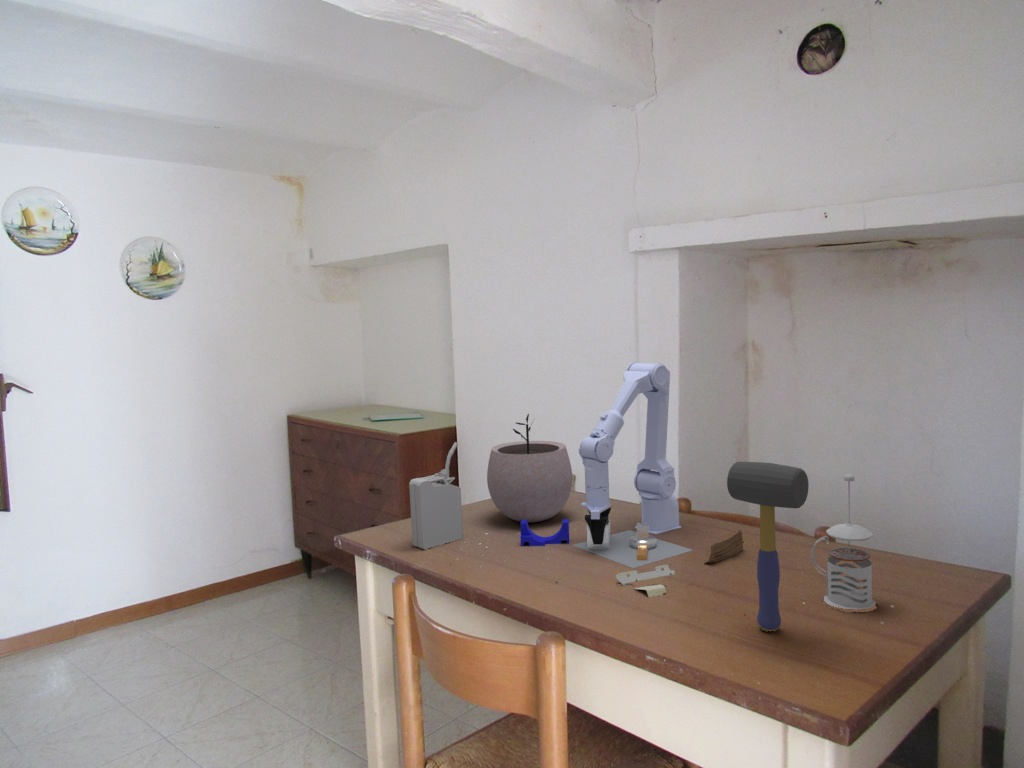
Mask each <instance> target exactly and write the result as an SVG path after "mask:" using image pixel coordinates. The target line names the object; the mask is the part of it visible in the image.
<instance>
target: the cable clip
mask: <svg viewBox="0 0 1024 768" xmlns="http://www.w3.org/2000/svg"><path fill="white" fill-rule="evenodd" d="M528 523H529V522H527V520H521V522H520V524H519V525H520V547H524V546H525V543H528V546H529V547H546V545H558V544H559V545H562V543H563V540H565V541H566V544H567V545H568V544H570V521H569V519H567V518H563V519H562V523H561V526H560V528H559V530H558V531H557V532H556V533H555V534H553V535H551V536H540V535H538V534H536V533H534V531H532V529H531V528H530V526H529V524H528Z"/></svg>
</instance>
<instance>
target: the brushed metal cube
mask: <svg viewBox="0 0 1024 768" xmlns="http://www.w3.org/2000/svg"><path fill="white" fill-rule="evenodd" d="M610 535H611V519H610V518H608V520H607V522H606V525H605V529H604V538H603V543H602V545H601V544H593V541H592V536H591V532H590V529H589V526H588V524H587V523H586V538H587V539H586V541H587V549H607V550H609V548H610V544H611V537H610Z"/></svg>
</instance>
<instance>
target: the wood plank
mask: <svg viewBox="0 0 1024 768" xmlns="http://www.w3.org/2000/svg"><path fill="white" fill-rule="evenodd" d="M744 542H745V541H744V540H743V531H742V529H739V530H738V531H737V532H736V533H735V534H733V535H732V536H730V537H729V538H728V539H725V540H722V541H720V542H717V543H714V544H712V545H711V546H710V555H709V557H708V560H707V561H705V562H704V563H703V564H704V565H706V564H711V563H717V562H719V561H722V560H725V559H727V558H729V557H731V556H732V557H734V556H735V554H736V555H737V554H739V553H741V552H742V551H743V550H744ZM740 551H741V552H740ZM733 555H734V556H733Z"/></svg>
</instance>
